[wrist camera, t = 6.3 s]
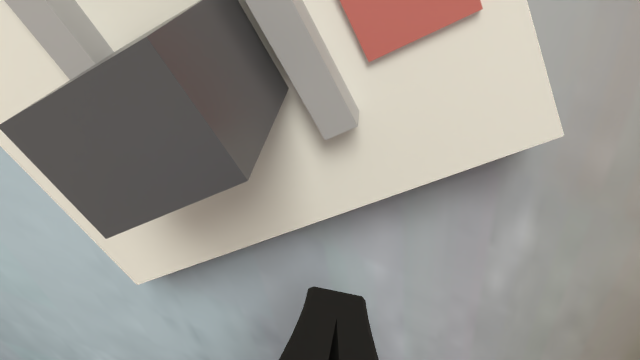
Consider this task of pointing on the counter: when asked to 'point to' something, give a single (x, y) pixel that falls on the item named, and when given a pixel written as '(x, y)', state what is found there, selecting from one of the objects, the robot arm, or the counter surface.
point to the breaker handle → (157, 119)
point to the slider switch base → (309, 107)
